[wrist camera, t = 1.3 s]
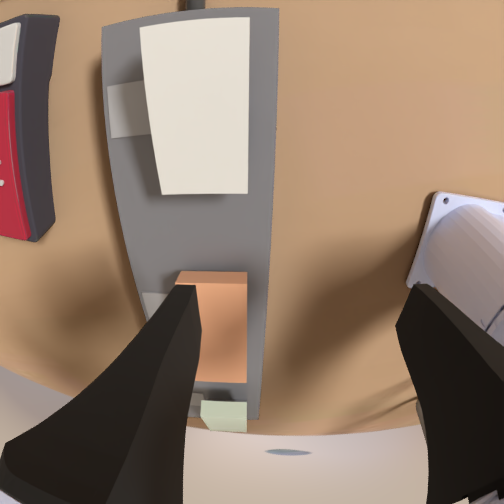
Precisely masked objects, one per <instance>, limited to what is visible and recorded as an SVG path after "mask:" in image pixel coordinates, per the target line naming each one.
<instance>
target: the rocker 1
mask: <svg viewBox="0 0 504 504" xmlns="http://www.w3.org/2000/svg"><path fill="white" fill-rule="evenodd" d="M140 40H141V53H142V64H143V73H144V83H145V91H146V99H147V107H148V114H149V121H150V128H151V135H152V141H153V147H154V153H155V159H156V165H157V171H158V176H159V181H160V187H161V192H162V195H168V194H248V132H249V46H250V17H233V18H210V19H197V20H186V21H178V22H170V23H163V24H157V25H151V26H145V27H140Z"/></svg>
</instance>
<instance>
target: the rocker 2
mask: <svg viewBox="0 0 504 504" xmlns="http://www.w3.org/2000/svg"><path fill="white" fill-rule="evenodd" d="M200 417H201V418H202V419H203V421H204V422H205V424H206V425H207V427H208V428H209V429H210V431H226V432H247V402H225V401H205V400H201V413H200Z"/></svg>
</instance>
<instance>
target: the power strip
mask: <svg viewBox="0 0 504 504" xmlns="http://www.w3.org/2000/svg"><path fill="white" fill-rule="evenodd" d="M233 17H250V46H249V132H248V194H168V195H162V192H161V187H160V181H159V176H158V171H157V165H156V159H155V153H154V147H153V141H152V135H151V128H150V121H149V114H148V107H147V99H146V91H145V83H144V73H143V64H142V53H141V40H140V27H145V26H151V25H157V24H163V23H170V22H178V21H186V20H197V19H210V18H233ZM278 48H279V8H258V7H233V8H211V9H205V0H186V6H185V11H179V12H172V13H165V14H158V15H153V16H147V17H142V18H137V19H132V20H128V21H123V22H119V23H115V24H111V25H108V26H104V27H102V85H103V101H104V114H105V125H106V134H107V143H108V151H109V158H110V165H111V172H112V178H113V184H114V190H115V196H116V201H117V207H118V212H119V217H120V222H121V226H122V231H123V235H124V240H125V244H126V248H127V253H128V257H129V261H130V265H131V269H132V272H133V276H134V280H135V283H136V287H137V291H138V294H139V297H140V301H141V304H142V308H143V311H144V314H145V317H146V320H147V322H148V320H149V319H150V318H151V317H152V315H153V314H154V313H155V311H156V310H157V309H158V307H159V306H160V305H161V303H162V302H163V301H164V299H165V298H166V297H167V295H168V294H169V293H170V291H171V290H172V288H173V287H174V286H175V282H176V280H177V278H178V276H179V274H180V272H181V271H216V272H247V383H227V382H205V381H195V382H194V387H193V392H192V397H191V402H190V407H189V412H188V417H199V418H201V417H200V413H201V400H205V401H225V402H247V420H258V419H259V407H260V395H261V383H262V370H263V356H264V342H265V328H266V314H267V298H268V282H269V266H270V249H271V230H272V211H273V191H274V169H275V145H276V118H277V87H278Z"/></svg>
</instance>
